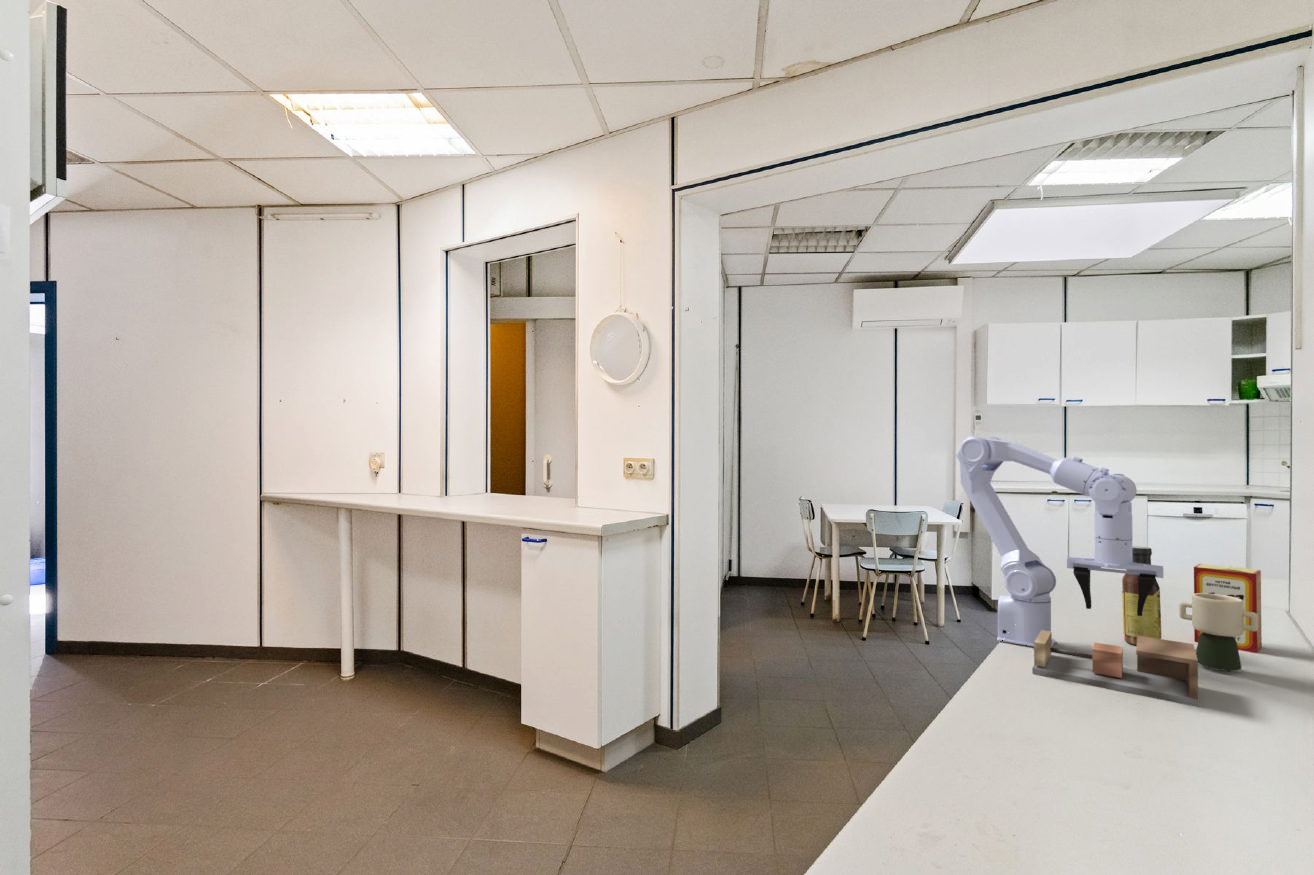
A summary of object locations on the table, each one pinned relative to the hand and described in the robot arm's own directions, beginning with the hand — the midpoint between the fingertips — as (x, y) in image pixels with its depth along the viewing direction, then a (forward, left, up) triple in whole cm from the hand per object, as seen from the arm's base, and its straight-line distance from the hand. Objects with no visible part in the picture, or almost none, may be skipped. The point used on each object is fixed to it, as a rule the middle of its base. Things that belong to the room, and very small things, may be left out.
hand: (1113, 611), depth 116 cm
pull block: (-5, -12, -8) cm, 15 cm away
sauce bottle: (+4, +18, -10) cm, 21 cm away
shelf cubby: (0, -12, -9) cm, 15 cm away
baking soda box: (+18, +30, -10) cm, 36 cm away
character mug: (+15, +8, -10) cm, 20 cm away
